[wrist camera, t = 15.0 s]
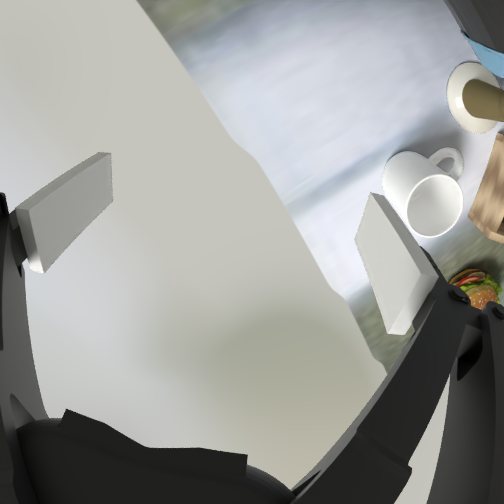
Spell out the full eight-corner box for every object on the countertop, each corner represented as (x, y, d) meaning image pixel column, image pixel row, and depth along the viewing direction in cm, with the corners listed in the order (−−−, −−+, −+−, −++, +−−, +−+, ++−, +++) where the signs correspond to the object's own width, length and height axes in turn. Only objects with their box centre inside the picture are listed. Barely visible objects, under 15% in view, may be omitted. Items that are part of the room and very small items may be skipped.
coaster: (453, 50, 28) (455, 50, 27) (505, 81, 28) (508, 82, 27) (438, 117, 34) (440, 118, 33) (490, 143, 34) (492, 144, 34)
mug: (424, 120, 35) (461, 138, 26) (454, 161, 37) (492, 187, 28) (368, 177, 40) (391, 208, 32) (402, 213, 43) (428, 249, 34)
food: (427, 322, 55) (439, 351, 48) (441, 268, 47) (459, 297, 41) (478, 312, 53) (493, 338, 46) (496, 260, 45) (516, 285, 39)
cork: (472, 124, 33) (517, 145, 24) (455, 88, 30) (502, 99, 21) (496, 108, 30) (543, 125, 21) (481, 72, 28) (529, 81, 19)
